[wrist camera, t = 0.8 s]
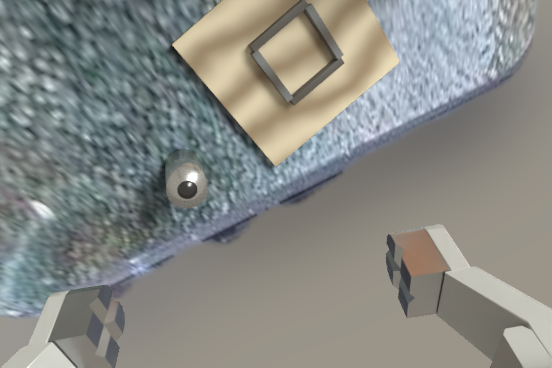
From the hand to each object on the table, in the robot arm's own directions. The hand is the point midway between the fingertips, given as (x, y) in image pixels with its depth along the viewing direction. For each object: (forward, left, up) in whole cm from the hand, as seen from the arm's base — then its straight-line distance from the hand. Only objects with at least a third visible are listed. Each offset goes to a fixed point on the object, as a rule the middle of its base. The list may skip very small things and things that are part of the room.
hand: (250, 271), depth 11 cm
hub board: (+7, +14, -45) cm, 48 cm away
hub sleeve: (+9, -8, -45) cm, 47 cm away
